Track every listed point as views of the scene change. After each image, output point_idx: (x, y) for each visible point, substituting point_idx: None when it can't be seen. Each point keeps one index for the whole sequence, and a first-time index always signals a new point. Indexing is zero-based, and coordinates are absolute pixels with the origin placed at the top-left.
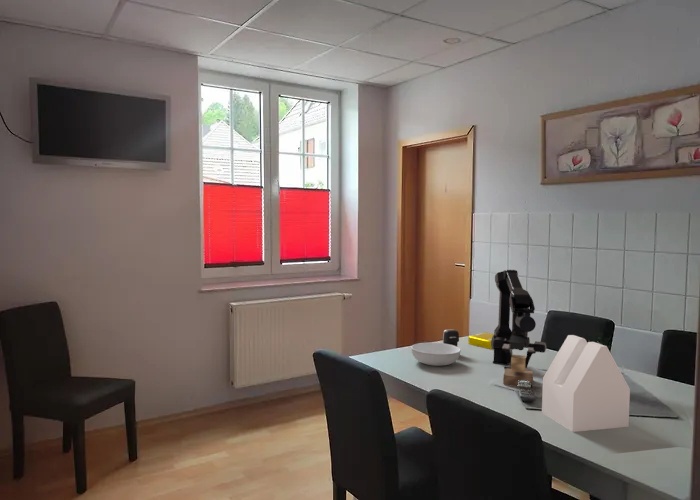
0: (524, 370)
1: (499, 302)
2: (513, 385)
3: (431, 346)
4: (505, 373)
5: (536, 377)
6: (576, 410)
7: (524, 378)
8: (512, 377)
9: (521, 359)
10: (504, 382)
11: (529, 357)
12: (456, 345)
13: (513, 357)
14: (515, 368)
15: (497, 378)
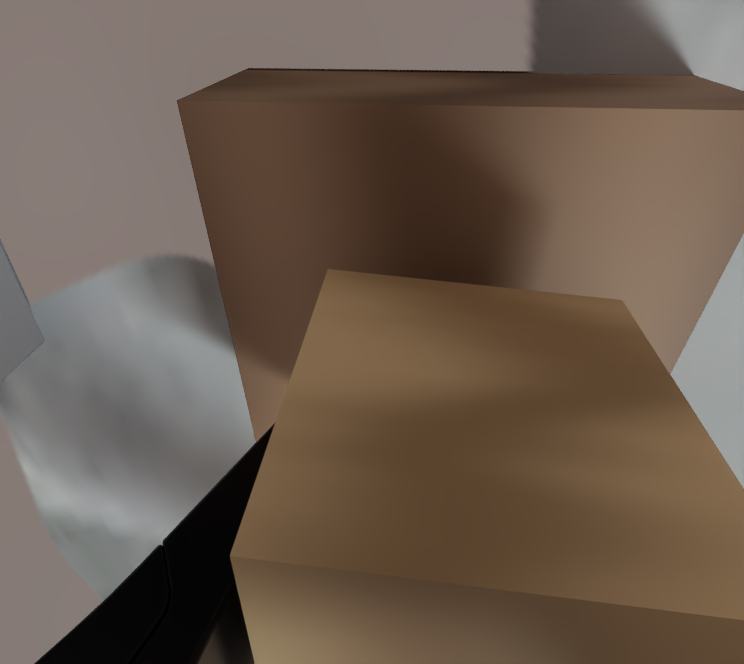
0: (326, 290)
1: None
2: (523, 74)
3: None
4: (706, 255)
5: None
6: None
7: (328, 101)
8: (581, 102)
9: (381, 539)
10: (694, 82)
11: (76, 655)
12: None
13: (719, 632)
14: (534, 322)
15: (698, 341)
